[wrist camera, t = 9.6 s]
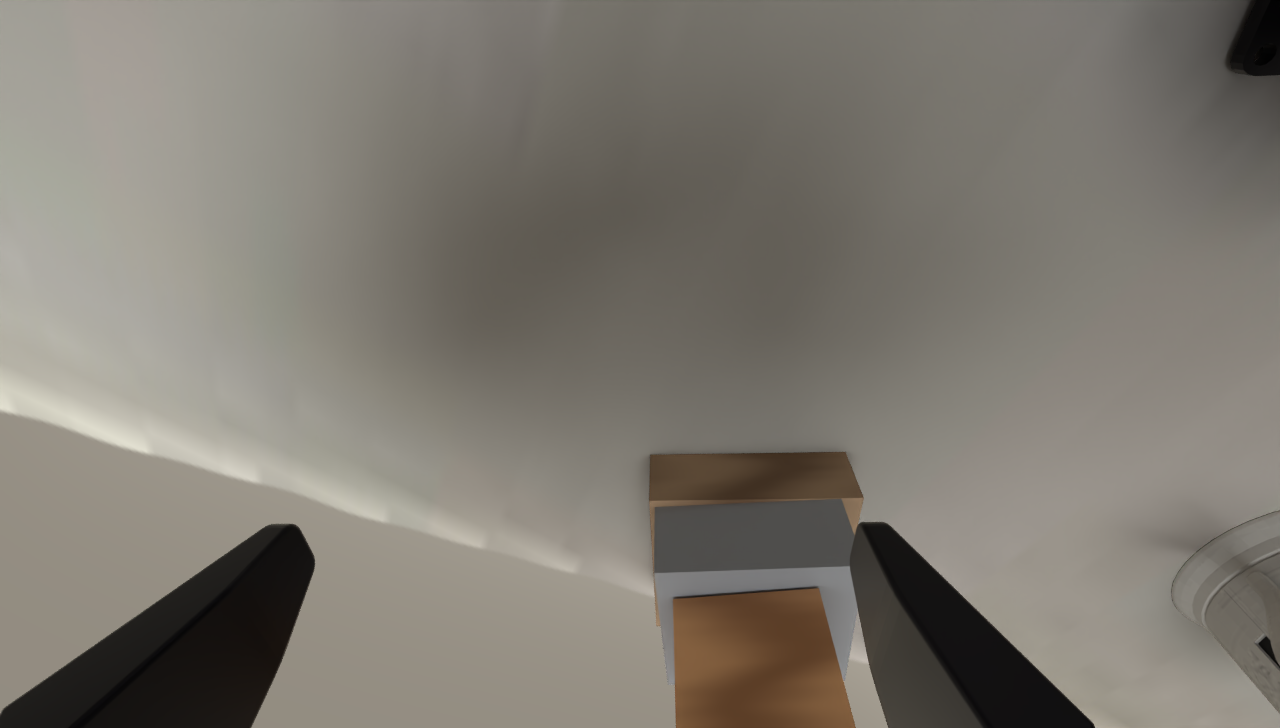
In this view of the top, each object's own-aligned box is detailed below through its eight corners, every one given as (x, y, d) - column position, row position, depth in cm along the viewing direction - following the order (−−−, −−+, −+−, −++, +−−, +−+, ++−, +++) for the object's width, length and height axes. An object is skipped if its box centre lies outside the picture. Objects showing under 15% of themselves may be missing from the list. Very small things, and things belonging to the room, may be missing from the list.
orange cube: (819, 588, 20) (861, 751, 16) (818, 667, 22) (854, 824, 18) (672, 599, 20) (676, 759, 16) (689, 674, 23) (696, 829, 19)
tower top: (841, 498, 22) (865, 565, 19) (826, 612, 25) (844, 681, 23) (654, 506, 22) (653, 573, 20) (667, 617, 26) (667, 684, 23)
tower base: (842, 444, 24) (863, 498, 22) (819, 569, 28) (835, 625, 26) (650, 448, 25) (649, 500, 22) (656, 570, 29) (656, 626, 26)
